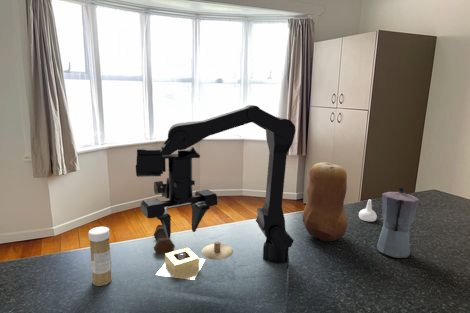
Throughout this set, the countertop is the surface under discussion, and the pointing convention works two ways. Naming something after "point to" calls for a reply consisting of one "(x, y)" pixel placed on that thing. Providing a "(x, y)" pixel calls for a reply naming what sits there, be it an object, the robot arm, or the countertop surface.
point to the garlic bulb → (368, 213)
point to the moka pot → (397, 223)
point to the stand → (217, 251)
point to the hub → (189, 275)
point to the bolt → (162, 241)
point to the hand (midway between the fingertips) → (181, 234)
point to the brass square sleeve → (181, 262)
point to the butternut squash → (326, 202)
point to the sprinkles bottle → (100, 255)
